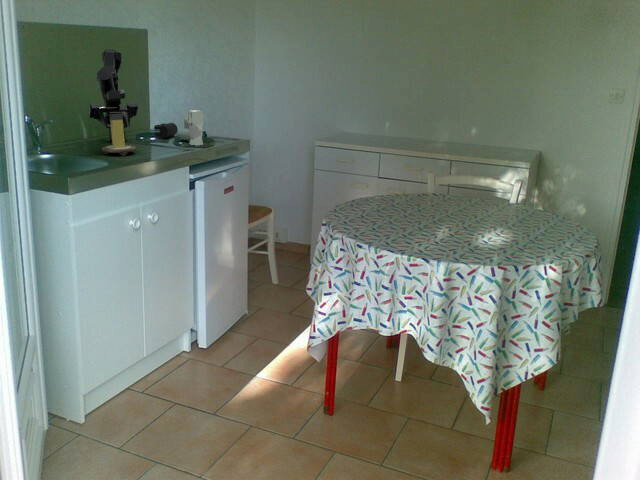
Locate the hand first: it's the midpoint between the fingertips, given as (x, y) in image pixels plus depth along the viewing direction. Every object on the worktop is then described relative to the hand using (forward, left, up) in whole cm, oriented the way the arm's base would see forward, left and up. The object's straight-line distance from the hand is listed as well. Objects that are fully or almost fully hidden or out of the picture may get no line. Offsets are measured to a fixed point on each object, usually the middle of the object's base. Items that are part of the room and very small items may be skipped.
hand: (118, 126), depth 256 cm
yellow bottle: (-1, +1, -8) cm, 8 cm away
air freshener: (+3, +45, -11) cm, 46 cm away
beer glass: (+12, +36, -11) cm, 39 cm away
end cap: (-12, +46, -11) cm, 49 cm away
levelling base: (-1, +1, -11) cm, 11 cm away
